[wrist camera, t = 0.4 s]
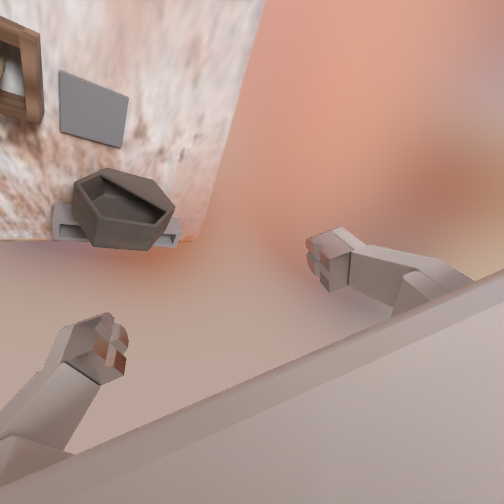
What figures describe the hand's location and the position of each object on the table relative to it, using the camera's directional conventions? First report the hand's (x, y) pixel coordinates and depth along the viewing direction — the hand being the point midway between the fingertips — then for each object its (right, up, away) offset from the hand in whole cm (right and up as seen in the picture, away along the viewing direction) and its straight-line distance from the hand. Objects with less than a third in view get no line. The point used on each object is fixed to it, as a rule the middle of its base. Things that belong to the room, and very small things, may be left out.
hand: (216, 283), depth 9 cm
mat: (-28, +28, +34) cm, 52 cm away
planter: (-30, +18, +47) cm, 59 cm away
